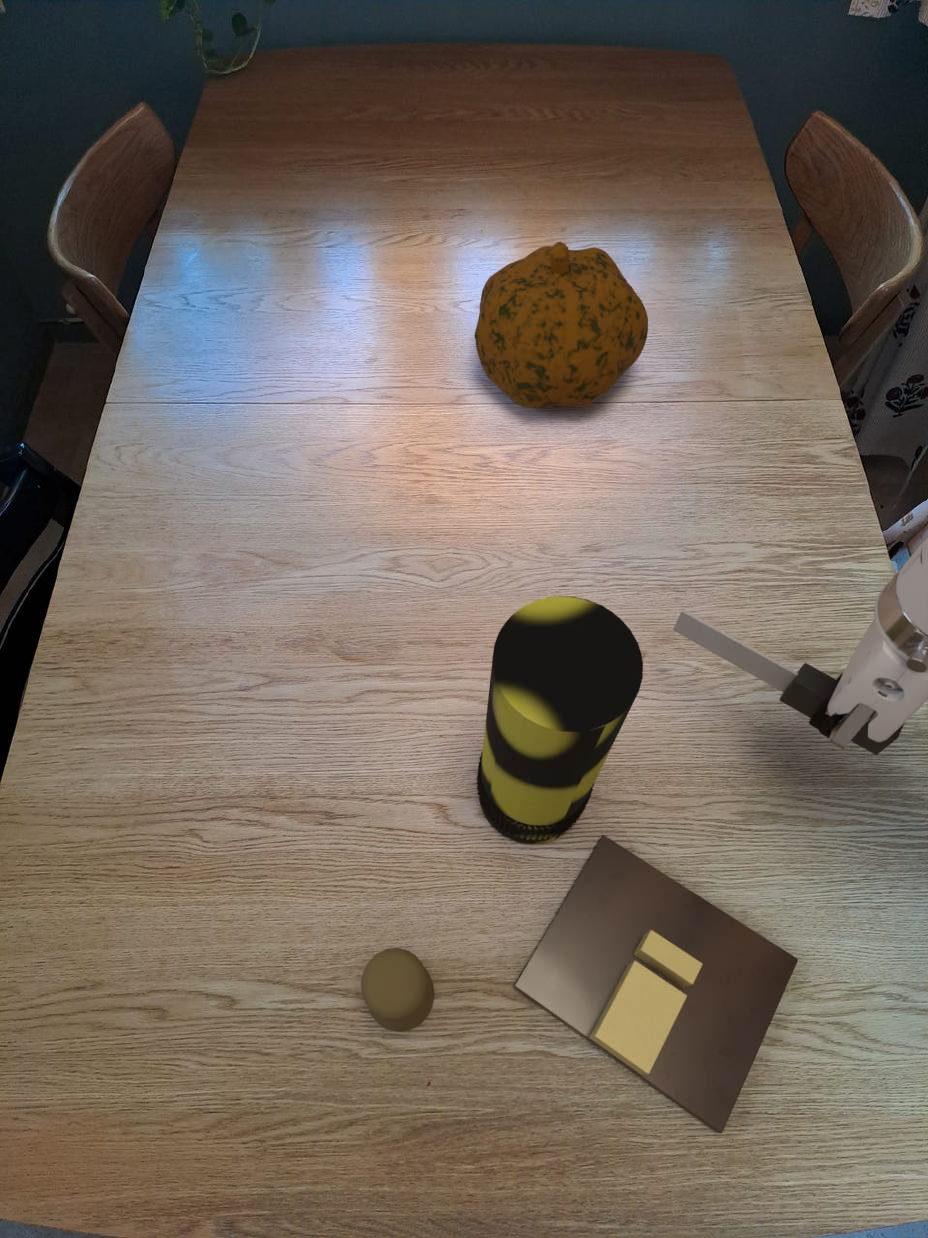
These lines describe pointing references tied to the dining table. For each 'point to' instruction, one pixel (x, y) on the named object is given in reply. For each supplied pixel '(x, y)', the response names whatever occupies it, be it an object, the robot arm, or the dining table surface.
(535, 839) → the container
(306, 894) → the dining table surface
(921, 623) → the robot arm
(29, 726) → the dining table surface
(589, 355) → the decorative pumpkin
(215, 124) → the dining table surface
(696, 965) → the butter slice
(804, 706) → the knife
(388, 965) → the cork
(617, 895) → the cutting board
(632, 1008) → the butter stick
